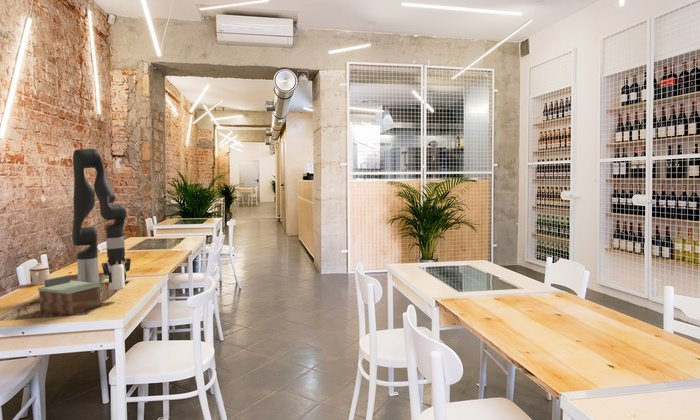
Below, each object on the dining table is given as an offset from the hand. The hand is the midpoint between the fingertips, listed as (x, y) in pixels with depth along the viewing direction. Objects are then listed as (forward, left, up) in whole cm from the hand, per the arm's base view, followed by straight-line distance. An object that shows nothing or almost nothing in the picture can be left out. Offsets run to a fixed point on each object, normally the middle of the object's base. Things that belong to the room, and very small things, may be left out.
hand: (117, 282), depth 210 cm
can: (0, 0, -3) cm, 3 cm away
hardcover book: (-56, +23, -9) cm, 61 cm away
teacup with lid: (-76, +10, -9) cm, 77 cm away
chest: (-8, -18, -9) cm, 21 cm away
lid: (-8, -18, +1) cm, 20 cm away
